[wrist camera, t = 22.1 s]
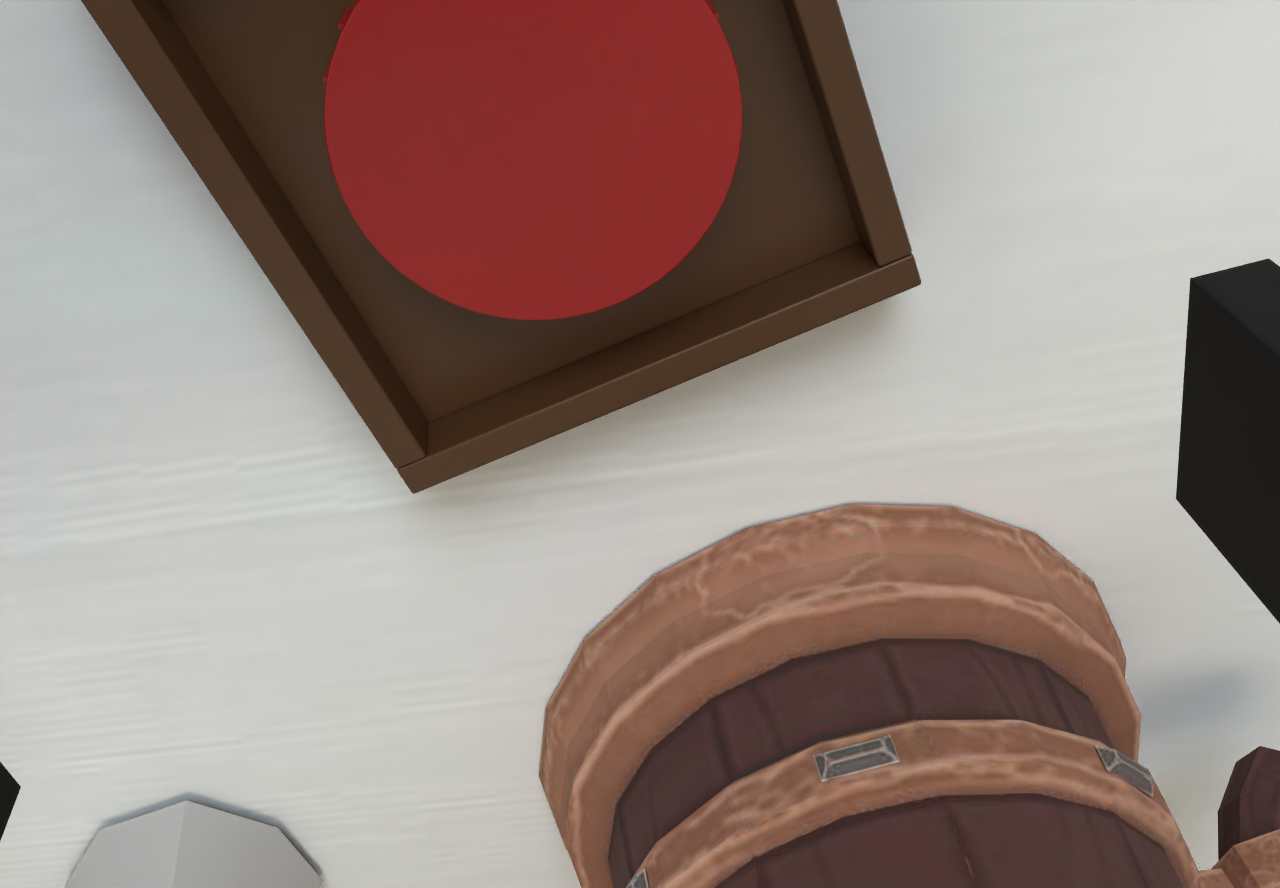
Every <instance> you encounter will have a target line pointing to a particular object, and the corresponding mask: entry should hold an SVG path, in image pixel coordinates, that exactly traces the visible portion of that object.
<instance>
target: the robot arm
mask: <svg viewBox="0 0 1280 888" xmlns="http://www.w3.org/2000/svg"><path fill="white" fill-rule="evenodd" d="M1176 499H1177V501H1178V502H1179V503H1180V504H1181V505H1182V507H1183V508H1184V509H1185V510H1186V511H1187V513H1188V514H1189V515H1190V516H1191V517H1192V519H1193V520H1194V521H1195V522H1196V523H1197V525H1198V526H1199V527H1200V528H1201V529H1202V531H1203V532H1204V533H1205V534H1206V535H1207V537H1208V538H1209V539H1210V540H1211V541H1212V543H1213V544H1214V545H1215V546H1216V547H1217V549H1218V550H1219V551H1220V552H1221V553H1222V555H1223V556H1224V557H1225V558H1226V559H1227V561H1228V562H1229V563H1230V564H1231V565H1232V567H1233V568H1234V569H1235V570H1236V571H1237V573H1238V574H1239V575H1240V576H1241V577H1242V579H1243V580H1244V581H1245V582H1246V583H1247V585H1248V586H1249V587H1250V588H1251V589H1252V591H1253V592H1254V593H1255V594H1256V596H1257V597H1258V598H1259V599H1260V600H1261V602H1262V603H1263V604H1264V605H1265V606H1266V608H1267V609H1268V610H1269V611H1270V612H1271V614H1272V615H1273V616H1274V617H1275V618H1276V620H1277V621H1278V622H1279V623H1280V267H1279V266H1278V265H1277V264H1275V263H1274V262H1273V261H1271V260H1270V259H1265V260H1261V261H1257V262H1253V263H1249V264H1245V265H1242V266H1238V267H1234V268H1230V269H1226V270H1222V271H1218V272H1214V273H1210V274H1206V275H1202V276H1198V277H1194V278H1190V294H1189V309H1188V324H1187V339H1186V355H1185V370H1184V385H1183V401H1182V416H1181V431H1180V446H1179V462H1178V477H1177V492H1176ZM20 788H21V787H20V785H19V784H18V783H17V782H16V781H15V779H14V778H13V777H12V776H11V774H10V773H9V772H8V771H7V770H6V768H5V767H4V766H3V765H2V763H1V762H0V840H1V838H2V835H3V833H4V830H5V827H6V825H7V822H8V819H9V817H10V814H11V811H12V809H13V806H14V804H15V801H16V798H17V796H18V793H19V790H20Z"/></svg>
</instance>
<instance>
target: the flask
mask: <svg viewBox="0 0 1280 888" xmlns="http://www.w3.org/2000/svg"><path fill="white" fill-rule="evenodd" d="M321 881H322V879H321V878H320V877H319V875H318V874H317V873H316V872H315V871H314V869H313V868H312V867H311V866H310V865H309V864H308V862H307V861H306V860H305V859H304V858H303V857H302V855H301V854H300V853H299V852H298V851H297V850H296V848H295V847H294V846H293V845H292V844H291V843H290V841H289V840H288V839H287V838H286V837H285V836H284V834H283V833H282V832H281V831H280V830H279V829H278V828H277V827H274V826H271V825H267V824H264V823H261V822H257V821H254V820H251V819H247V818H244V817H241V816H237V815H234V814H231V813H227V812H224V811H221V810H217V809H214V808H211V807H207V806H204V805H201V804H197V803H194V802H191V801H187V800H185V801H183V802H180V803H177V804H174V805H171V806H168V807H165V808H162V809H159V810H156V811H153V812H150V813H147V814H144V815H141V816H138V817H135V818H132V819H129V820H126V821H123V822H120V823H118V824H115V825H112V826H109V827H106V828H103V829H100V830H99V831H98V833H97V834H96V836H95V837H94V839H93V841H92V842H91V844H90V845H89V847H88V849H87V850H86V852H85V854H84V855H83V857H82V858H81V860H80V862H79V863H78V865H77V866H76V868H75V870H74V871H73V873H72V874H71V876H70V878H69V879H68V881H67V882H66V884H65V888H318V887H319V885H320V883H321Z"/></svg>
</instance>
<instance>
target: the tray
mask: <svg viewBox="0 0 1280 888" xmlns="http://www.w3.org/2000/svg"><path fill="white" fill-rule="evenodd" d="M81 1H82V2H83V4H84V5H85V7H86V8H87V10H88V11H89V13H90V14H91V16H92V17H93V19H94V20H95V22H96V23H97V25H98V26H99V28H100V29H101V31H102V32H103V34H104V35H105V36H106V38H107V39H108V41H109V42H110V44H111V45H112V47H113V48H114V50H115V51H116V53H117V54H118V56H119V57H120V59H121V60H122V62H123V63H124V65H125V66H126V68H127V69H128V71H129V72H130V74H131V75H132V77H133V78H134V80H135V81H136V83H137V84H138V86H139V87H140V89H141V90H142V92H143V93H144V95H145V96H146V98H147V99H148V100H149V102H150V103H151V105H152V106H153V108H154V109H155V111H156V112H157V114H158V115H159V117H160V118H161V120H162V121H163V123H164V124H165V126H166V127H167V129H168V130H169V132H170V133H171V135H172V136H173V138H174V139H175V141H176V142H177V144H178V145H179V147H180V148H181V150H182V151H183V153H184V154H185V156H186V157H187V159H188V160H189V161H190V163H191V164H192V166H193V167H194V169H195V170H196V172H197V173H198V175H199V176H200V178H201V179H202V181H203V182H204V184H205V185H206V187H207V188H208V190H209V191H210V193H211V194H212V196H213V197H214V199H215V200H216V202H217V203H218V205H219V206H220V208H221V209H222V211H223V212H224V214H225V215H226V217H227V218H228V220H229V221H230V222H231V224H232V225H233V227H234V228H235V230H236V231H237V233H238V234H239V236H240V237H241V239H242V240H243V242H244V243H245V245H246V246H247V248H248V249H249V251H250V252H251V254H252V255H253V257H254V258H255V260H256V261H257V263H258V264H259V266H260V267H261V269H262V270H263V272H264V273H265V275H266V276H267V278H268V279H269V281H270V282H271V284H272V285H273V286H274V288H275V289H276V291H277V292H278V294H279V295H280V297H281V298H282V300H283V301H284V303H285V304H286V306H287V307H288V309H289V310H290V312H291V313H292V315H293V316H294V318H295V319H296V321H297V322H298V324H299V325H300V327H301V328H302V330H303V331H304V333H305V334H306V336H307V337H308V339H309V340H310V342H311V343H312V345H313V346H314V347H315V349H316V350H317V352H318V353H319V355H320V356H321V358H322V359H323V361H324V362H325V364H326V365H327V367H328V368H329V370H330V371H331V373H332V374H333V376H334V377H335V379H336V380H337V382H338V383H339V385H340V386H341V388H342V389H343V391H344V392H345V394H346V395H347V397H348V398H349V400H350V401H351V403H352V404H353V406H354V407H355V409H356V410H357V411H358V413H359V414H360V416H361V417H362V419H363V420H364V422H365V423H366V425H367V426H368V428H369V429H370V431H371V432H372V434H373V435H374V437H375V438H376V440H377V441H378V443H379V444H380V446H381V447H382V449H383V450H384V452H385V453H386V455H387V456H388V458H389V459H390V461H391V462H392V464H393V465H394V467H395V468H397V471H398V473H399V474H400V476H401V477H402V478H403V480H404V481H405V483H406V484H407V486H408V487H409V489H410V490H411V492H412V493H417V492H419V491H422V490H424V489H427V488H429V487H432V486H434V485H436V484H439V483H441V482H444V481H446V480H448V479H451V478H453V477H456V476H458V475H461V474H463V473H465V472H468V471H470V470H473V469H475V468H478V467H480V466H482V465H485V464H487V463H490V462H492V461H494V460H497V459H499V458H502V457H504V456H507V455H509V454H511V453H514V452H516V451H519V450H521V449H524V448H526V447H528V446H531V445H533V444H536V443H538V442H540V441H543V440H545V439H548V438H550V437H553V436H555V435H557V434H560V433H562V432H565V431H567V430H570V429H572V428H574V427H577V426H579V425H582V424H584V423H586V422H589V421H591V420H594V419H596V418H599V417H601V416H603V415H606V414H608V413H611V412H613V411H615V410H618V409H620V408H623V407H625V406H628V405H630V404H632V403H635V402H637V401H640V400H642V399H645V398H647V397H649V396H652V395H654V394H657V393H659V392H661V391H664V390H666V389H669V388H671V387H674V386H676V385H678V384H681V383H683V382H686V381H688V380H691V379H693V378H695V377H698V376H700V375H703V374H705V373H707V372H710V371H712V370H715V369H717V368H720V367H722V366H724V365H727V364H729V363H732V362H734V361H737V360H739V359H741V358H744V357H746V356H749V355H751V354H753V353H756V352H758V351H761V350H763V349H766V348H768V347H770V346H773V345H775V344H778V343H780V342H783V341H785V340H787V339H790V338H792V337H795V336H797V335H799V334H802V333H804V332H807V331H809V330H812V329H814V328H816V327H819V326H821V325H824V324H826V323H829V322H831V321H833V320H836V319H838V318H841V317H843V316H845V315H848V314H850V313H853V312H855V311H858V310H860V309H862V308H865V307H867V306H870V305H872V304H875V303H877V302H879V301H882V300H884V299H887V298H889V297H891V296H894V295H896V294H899V293H901V292H904V291H906V290H908V289H911V288H913V287H916V286H918V285H920V284H921V279H920V276H919V272H918V269H917V266H916V262H915V259H914V256H913V254H912V253H911V250H912V249H911V246H910V243H909V239H908V236H907V233H906V229H905V226H904V223H903V219H902V216H901V213H900V209H899V206H898V203H897V199H896V196H895V193H894V189H893V186H892V183H891V179H890V176H889V173H888V169H887V166H886V163H885V159H884V156H883V153H882V149H881V146H880V143H879V139H878V136H877V133H876V129H875V126H874V123H873V119H872V116H871V113H870V109H869V106H868V102H867V99H866V96H865V92H864V89H863V86H862V82H861V79H860V76H859V72H858V69H857V66H856V62H855V59H854V56H853V52H852V49H851V46H850V42H849V39H848V36H847V32H846V29H845V26H844V22H843V19H842V16H841V12H840V9H839V6H838V2H837V0H710V2H711V3H712V5H713V6H714V8H715V9H716V10H717V12H718V14H719V16H720V18H719V19H717V20H718V21H719V23H720V25H721V27H722V30H723V32H724V34H725V37H726V39H727V41H728V43H729V46H730V48H731V51H732V54H733V58H734V60H735V62H736V63H737V65H738V70H737V72H738V76H739V83H740V90H741V96H742V121H743V129H742V137H741V145H740V154H739V158H738V162H737V166H736V170H735V174H734V178H733V180H732V183H731V186H730V188H729V191H728V193H727V196H726V198H725V201H724V203H723V205H722V207H721V209H720V210H719V212H718V214H717V216H716V218H715V219H714V221H713V223H712V225H711V226H710V228H709V229H708V230H707V232H706V233H705V234H704V236H703V237H702V239H701V240H700V241H699V243H698V244H697V245H696V246H695V248H694V249H693V250H692V251H691V252H690V253H689V254H688V255H687V256H686V257H685V258H684V259H683V260H682V261H681V263H680V264H678V265H677V266H676V267H675V268H674V269H672V270H671V271H670V272H669V273H668V274H667V275H665V276H664V277H663V278H662V279H660V280H659V281H657V282H656V283H654V284H653V285H651V286H650V287H648V288H647V289H645V290H644V291H642V292H641V293H639V294H637V295H635V296H633V297H631V298H629V299H627V300H625V301H623V302H621V303H619V304H616V305H613V306H610V307H607V308H605V309H602V310H599V311H596V312H593V313H588V314H584V315H580V316H575V317H571V318H562V319H553V320H517V319H509V318H501V317H495V316H491V315H487V314H482V313H478V312H474V311H471V310H468V309H466V308H463V307H460V306H458V305H455V304H452V303H449V302H447V301H445V300H443V299H442V298H440V297H438V296H436V295H434V294H432V293H430V292H428V291H426V290H425V289H423V288H422V287H420V286H419V285H417V284H416V283H414V282H413V281H411V280H410V279H408V278H407V277H405V276H404V275H403V274H402V273H401V272H399V271H398V270H397V269H396V268H395V267H394V266H393V265H391V264H390V263H389V262H388V261H387V260H386V259H385V258H384V257H383V256H382V255H381V254H380V253H379V252H378V250H377V249H376V248H375V247H374V246H373V245H372V244H371V243H370V242H369V240H368V239H367V238H366V236H365V235H364V233H363V232H362V231H361V229H360V228H359V226H358V225H357V223H356V222H355V220H354V219H353V217H352V215H351V213H350V212H349V210H348V208H347V206H346V204H345V202H344V200H343V198H342V196H341V194H340V191H339V188H338V186H337V183H336V180H335V177H334V175H333V172H332V169H331V164H330V160H329V155H328V151H327V146H326V139H325V137H324V130H325V126H324V101H325V87H326V83H324V82H323V79H324V75H325V72H326V70H327V67H328V64H329V61H330V59H331V58H332V56H333V53H334V50H335V47H336V44H337V41H338V38H339V35H340V32H341V29H339V28H337V27H338V24H339V21H340V19H341V16H342V13H343V10H344V8H345V7H347V8H350V6H351V4H352V2H353V0H81Z"/></svg>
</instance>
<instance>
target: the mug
mask: <svg viewBox="0 0 1280 888" xmlns="http://www.w3.org/2000/svg"><path fill="white" fill-rule="evenodd" d="M1125 666H1126V657H1125V654H1124V651H1123V648H1122V645H1121V642H1120V640H1119V637H1118V635H1117V633H1116V631H1115V628H1114V626H1113V624H1112V622H1111V619H1110V617H1109V615H1108V613H1107V610H1106V608H1105V606H1104V604H1103V602H1102V599H1101V597H1100V595H1099V593H1098V590H1097V588H1096V586H1095V584H1094V582H1093V581H1092V580H1091V579H1090V578H1088V577H1087V576H1086V575H1085V574H1084V573H1082V572H1081V571H1080V570H1079V569H1078V568H1076V567H1075V566H1074V565H1073V564H1072V563H1070V562H1069V561H1068V560H1067V559H1066V558H1064V557H1063V556H1062V555H1061V554H1060V553H1058V552H1057V551H1056V550H1055V549H1053V548H1052V547H1051V546H1050V545H1049V544H1047V543H1046V542H1045V541H1044V540H1043V539H1041V538H1040V537H1039V536H1038V535H1037V534H1034V533H1031V532H1028V531H1025V530H1022V529H1019V528H1015V527H1012V526H1009V525H1006V524H1003V523H1000V522H997V521H994V520H991V519H988V518H985V517H982V516H979V515H976V514H973V513H970V512H967V511H964V510H961V509H958V508H955V507H943V506H901V505H859V504H850V505H846V506H842V507H838V508H833V509H829V510H825V511H820V512H816V513H812V514H807V515H803V516H799V517H795V518H790V519H786V520H782V521H777V522H773V523H769V524H764V525H760V526H756V527H751V528H747V529H745V530H743V531H741V532H739V533H737V534H735V535H733V536H731V537H729V538H727V539H725V540H723V541H721V542H719V543H717V544H715V545H714V546H712V547H710V548H708V549H706V550H704V551H702V552H700V553H698V554H696V555H694V556H692V557H690V558H688V559H686V560H684V561H682V562H680V563H678V564H676V565H674V566H672V567H670V568H668V569H666V570H664V571H663V572H661V573H659V574H657V575H655V576H653V577H652V578H651V579H650V580H649V581H648V582H646V583H645V584H644V585H643V586H642V587H641V588H640V589H639V590H638V591H637V592H635V593H634V594H633V595H632V596H631V597H630V598H629V599H628V600H627V601H626V602H624V603H623V604H622V605H621V606H620V607H619V608H618V609H617V610H616V611H615V612H613V613H612V614H611V615H610V616H609V617H608V618H607V619H606V620H605V621H604V622H602V623H601V624H600V625H599V626H598V627H597V628H596V629H595V630H594V631H593V632H592V633H590V634H589V635H588V636H587V637H586V638H585V639H584V640H583V642H582V644H581V646H580V648H579V649H578V651H577V653H576V655H575V657H574V658H573V660H572V662H571V664H570V666H569V667H568V669H567V671H566V673H565V675H564V676H563V678H562V680H561V682H560V683H559V685H558V687H557V689H556V691H555V692H554V694H553V696H552V698H551V700H550V701H549V703H548V705H547V707H546V710H545V720H544V729H543V739H542V749H541V759H540V769H539V777H540V780H541V783H542V786H543V789H544V792H545V794H546V797H547V800H548V802H549V805H550V808H551V810H552V813H553V816H554V818H555V821H556V823H557V826H558V829H559V831H560V834H561V837H562V839H563V842H564V845H565V847H566V849H567V850H568V852H569V855H570V858H571V860H572V863H573V866H574V868H575V871H576V873H577V876H578V879H579V881H580V884H581V887H582V888H1280V751H1278V750H1274V749H1270V748H1266V747H1261V746H1259V747H1258V748H1256V749H1255V750H1253V751H1252V752H1251V753H1249V754H1248V755H1246V756H1245V757H1243V758H1242V759H1240V760H1239V761H1237V762H1236V764H1235V766H1234V769H1233V772H1232V775H1231V777H1230V780H1229V783H1228V786H1227V788H1226V791H1225V794H1224V797H1223V799H1222V802H1221V805H1220V808H1219V811H1218V857H1219V861H1218V862H1217V864H1216V865H1215V866H1214V867H1213V868H1212V869H1211V870H1203V871H1198V869H1197V867H1196V864H1195V862H1194V860H1193V858H1192V856H1191V854H1190V852H1189V849H1188V847H1187V845H1186V843H1185V841H1184V839H1183V837H1182V834H1181V832H1180V830H1179V828H1178V826H1177V824H1176V822H1175V820H1174V818H1173V816H1172V814H1171V812H1170V810H1169V808H1168V806H1167V804H1166V802H1165V800H1164V798H1163V796H1162V795H1161V793H1160V791H1159V789H1158V787H1157V785H1156V783H1155V781H1154V780H1153V778H1152V776H1151V774H1150V772H1149V770H1148V769H1147V768H1145V767H1143V766H1142V765H1140V764H1138V749H1139V734H1140V719H1141V714H1140V712H1139V710H1138V707H1137V705H1136V703H1135V701H1134V699H1133V696H1132V694H1131V692H1130V690H1129V688H1128V685H1127V683H1126V681H1125Z"/></svg>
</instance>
